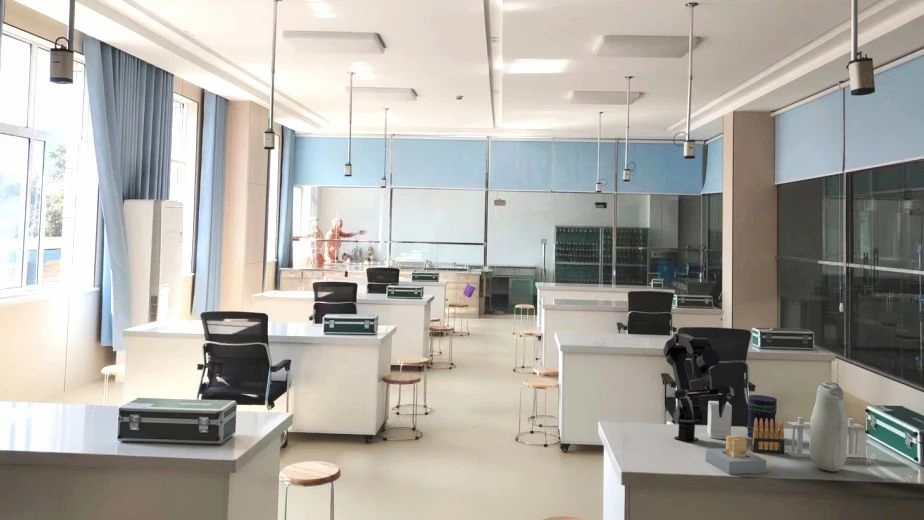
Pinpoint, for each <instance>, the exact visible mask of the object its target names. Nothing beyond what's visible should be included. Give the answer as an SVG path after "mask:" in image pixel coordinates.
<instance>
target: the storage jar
mask: <svg viewBox="0 0 924 520" xmlns="http://www.w3.org/2000/svg"><path fill="white" fill-rule="evenodd" d="M777 400H778V399H777V398H775V397H773V396H769V395H768V396H767V395H763V394H750V395H749V396H748V404H747V406H748V408H747V411H748V421H747V425H746V427H747V428H746V429H747V433H746V435H747V437H748V438H749V439H752V437H753V428H754V421H755V418H757V421H758V429H759V422H760V419H761V418H762V420H763V432H764V425H765V420H766V418H767V419H768V430H769V426H770V420H771V418H772V419H773V429H774V428H775V421H776V415H777V407H778V406H777V402H778V401H777Z"/></svg>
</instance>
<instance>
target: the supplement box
mask: <svg viewBox="0 0 924 520" xmlns="http://www.w3.org/2000/svg"><path fill="white" fill-rule="evenodd" d="M707 403H708V405H707V429H706V434H707V435H708V436H709V438H710V439H718V440H719V439H720V440H726V436H732V415H733V414H732V413H733V406H732V404H731V403H730V402H729V401H727V402H726V405H725V407H724V411H723V414H722V418H720V416H719V401H718V400H708V402H707Z"/></svg>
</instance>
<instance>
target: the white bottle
mask: <svg viewBox="0 0 924 520" xmlns="http://www.w3.org/2000/svg"><path fill="white" fill-rule="evenodd" d="M810 419H811V429H810V428H809V441H810V455H811V457H810V458H811V460H812V463H813V464H814V465H815V466H816V467H817V468H818V469H820V470H823V471H825V470H826V471H825V472H837V471H840V470H841V469H842V468H844V466H845V463H846V460H847V458H846V453H847V436H848V416H847V412H846V409H845V402H844V391H843V388H842V387H840V386H839V385H838V384H836V383H831V382H823V383H821V384H819V385H818V388H817V389H816V396H815V404H814V405H813V410H812V413H811V417H810ZM810 435H811V436H810Z"/></svg>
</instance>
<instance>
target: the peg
mask: <svg viewBox="0 0 924 520" xmlns="http://www.w3.org/2000/svg"><path fill="white" fill-rule="evenodd" d="M747 441H748V440H747V438H745V437H743V436H741V435H731V436H726V439H725V448H726V455H728V456H730V457H732V458H746V450H747V443H748V442H747Z"/></svg>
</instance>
